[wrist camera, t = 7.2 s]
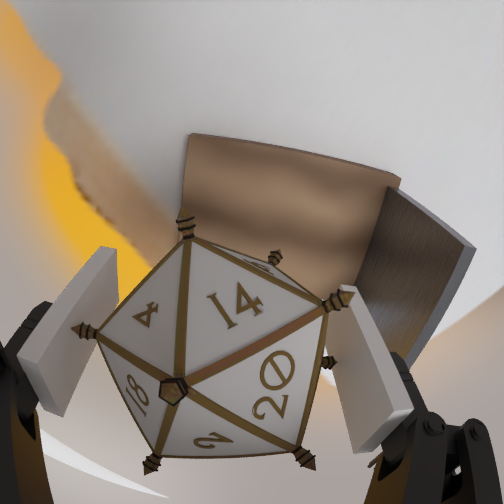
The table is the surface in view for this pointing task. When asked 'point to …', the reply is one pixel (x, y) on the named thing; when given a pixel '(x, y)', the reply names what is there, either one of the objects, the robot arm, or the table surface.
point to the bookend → (410, 273)
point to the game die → (218, 353)
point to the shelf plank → (285, 206)
